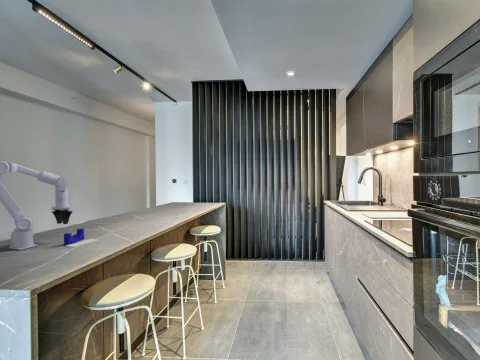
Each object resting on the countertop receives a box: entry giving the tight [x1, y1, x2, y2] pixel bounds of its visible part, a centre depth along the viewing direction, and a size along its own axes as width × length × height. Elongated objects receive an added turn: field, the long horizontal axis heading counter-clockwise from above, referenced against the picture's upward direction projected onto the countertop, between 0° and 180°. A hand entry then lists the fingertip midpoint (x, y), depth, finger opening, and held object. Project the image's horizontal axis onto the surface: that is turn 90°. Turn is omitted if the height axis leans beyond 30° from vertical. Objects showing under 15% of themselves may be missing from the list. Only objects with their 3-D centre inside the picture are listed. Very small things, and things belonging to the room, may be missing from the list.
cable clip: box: [63, 228, 85, 246], centre depth 138 cm, size 12×4×6 cm, turn 179°
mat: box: [65, 238, 99, 248], centre depth 135 cm, size 6×14×1 cm, turn 158°
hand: (62, 223), depth 140 cm, fingers open, 4 cm apart
